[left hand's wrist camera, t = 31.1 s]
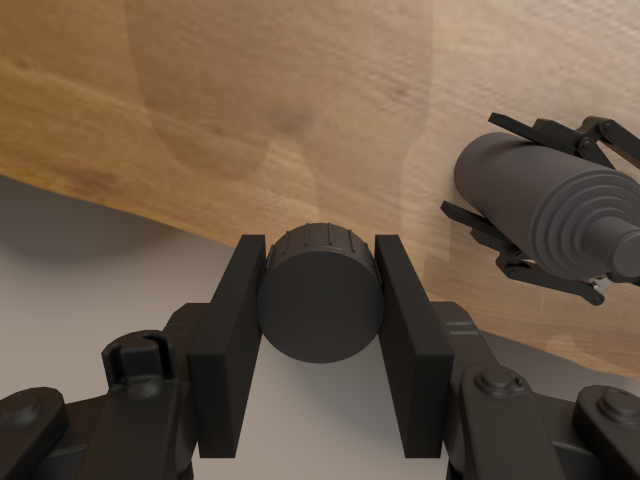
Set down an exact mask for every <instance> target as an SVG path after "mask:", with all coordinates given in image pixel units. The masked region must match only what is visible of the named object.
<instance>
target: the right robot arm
mask: <svg viewBox="0 0 640 480" xmlns="http://www.w3.org/2000/svg"><path fill="white" fill-rule="evenodd" d="M488 121H489V122H491V123H493V124H495V125H497V126H500V127H502V128H504V129H506V130H508V131H510V132H513V133H515V134H517V135H519V136H521V137H523V138H525V139H528V140H530V141H532V142H534V143H537V144H540V145H543V146H545V147H548V148H551V149H554V150H557V151H560V152H563V153H566V154H569V155H572V156H575V157H578V158H581V159H584V160H587V161H590V162H593V163H596V164H599V165H602V166H605V167H608V168H611V169H614V170H616V169H615V168H614V166H613V165H612V164H611V162H610V161H609V160H608V158H607V157H606V156H605V155H604V153H603V152H602V151H601V149H600V148H599V147H598V145H597V144H596V142H597V141H598V140H599V141H601V142H602V143H603V144H605V145H606V146H608V147H609V148H610V149H612V150H613V151H615V152H616V153H617V154H619V155H620V156H621V157H623V158H624V159H626V160H627V161H628V162H630V163H631V164H633V165H634V166H635V167H637V168H638V169H640V140H639V139H638V138H637V137H635V136H634V135H633V134H631V133H630V132H629V131H627V130H626V129H625V128H623V127H622V126H620V125H619V124H618V123H616V122H615V121H614V120H611V119H606V118H600V117H594V116H589V117H587V118H586V119H585V120H584V121H583V124H582V126H581V127H580V128H578V129H577V130H572V129H569V128H567V127H565V126H563V125H561V124H559V123H557V122H555V121H552V120H548V119H537V120H536V122H535V124H534V125H533V127H532V128H531V127H529V126H527V125H525V124H523V123H520V122H518V121H516V120H514V119H512V118H510V117H508V116H505V115H501V114H497V113H493V112H492V114H491V116H490V118H489V120H488ZM440 208H441V210H442V211H443V212H444V213H445V214H446V215H447V216H448V218H451V219H453V220H455V221H458V222H460V223H463V224H465V225H467V226H470V227H472V228H473V229H472V231H471V232H470V234H471V235H472V236H473V237H474V238H475V240H476V241H477V242H478V243H480V244H482V245H485V246H487V247H489V248H492V249H494V250H497V251H499V252H500V255H499V257H498V258H497V259H496V265H497V266H498V267H499V269H500V270H501V271H502V272H503V273H504V274H505V275H506V276H507V277H508V278H510V279H513V280H518V281H522V282H526V283H530V284H534V285H538V286H542V287H546V288H551V289H555V290H559V291H563V292H567V293H571V294H575V295H579V296H581V297H583V298H584V299H585V300H587V301H588V302H590V303H591V304H592V305H594V306H598V305H601V304H602V303H603V302H604V299H605V298H604V296H603V295H602V294H601V293H603V292H604V291H605V290H606V289H607V288H608V287H609V286H610V285H611V284H612V283H613V282H614V283H631V284H634V285H636V286H638V287H640V276H639V277H622V276H620V275H617V274H615V273H614V272H613V271H610V272H608V273H605V274H603V275H600V276H596V277H592V278H587V279H578V280H573V279H564V278H560V277H557V276H554V275H552V274H550V273H548V272H547V271H545V270H544V269H543V268H541V267H540V266H539V265H538V264H535V263H531V262H527V261H523V260H521V259H526V260H532V259H531V258H530V257H529V256H528V255H527V254H526V253H525V252H523V251H522V250H521V249H520V248H519V247H518V246H517V245H516V244H514V243H513V242H512V241H511V240H510V239H509V238H508V237H507V236H505V235H504V234H503V233H502V232H501V231H500V230H499V229H498V228H496V227H495V226H494V225H493V224H492V223H491V222H490V221H489V220H487V219H486V218H484V217H482V216H479V215H477V214H475V213H472V212H470V211H468V210H465V209H463V208H460V207H458V206H456V205H453V204H451V203H449V202H446V201H444V202H443V204H442V205H441V207H440Z"/></svg>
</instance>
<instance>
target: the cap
mask: <svg viewBox="0 0 640 480" xmlns="http://www.w3.org/2000/svg"><path fill="white" fill-rule="evenodd" d="M256 306H257V321H258V324H259V327H260V329H261V331H262V333H263V334H264V336H265V337H266V339H267V340H268V341H269V342H270V343H271V344H272V345H273V346H274V347H275V348H276V349H278V350H279V351H280V352H282V353H284V354H285V355H287V356H289V357H291V358H294V359H296V360H300V361H303V362H309V363H332V362H337V361H341V360H344V359H347V358H349V357H351V356H353V355H355V354H357V353H358V352H360V351H361V350H363V349H364V348H365V347H366V346H367V345H369V344H370V342H371V341H372V340H373V339H374V338H375V336H376V335H377V333H378V332H379V329H380V327H381V325H382V322H383V310H384V294H383V290H382V281H381V277H380V274H379V270H378V267H377V263H376V260H374V259H373V256H372V254H371V252H370V250H369V248H368V244H367V243H364V242H363V241H362V240H361V239H360V238H359V237H358V236H357V235H355V234H354V233H353V232H352V230H350V229H349V230H347V229H345V228H343V227H341V226H337V225H333V224H331V223H328V224H327V223H313V224H309V223H306V225H303V226H300V227H297V228H295V229H293V230H291V231H287V232H286V234H285V235H284V236H282V237H281V238H280V239H279V240H278V241H277V242H276V243H275V245H272V246H271V249H270V252H269V254H268V257H267V260H266V263H265V264H264V268H263V271H262V275H261V278H260V282H259V285H258V291H257V295H256Z"/></svg>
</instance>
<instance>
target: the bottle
mask: <svg viewBox="0 0 640 480" xmlns="http://www.w3.org/2000/svg"><path fill="white" fill-rule="evenodd" d="M454 178H455V184H456V187H457V190H458V191H459V193H460V195H461V196H462V197H463V198H464V199H465V200H466V201H467V202H468V203H469V204H471V205H472V206H473V207H474V208H475V209H476V210H477V211H478V212H480V213H481V214H482V215H483V216H484V217H485V218H486V219H487V220H489V221H490V222H491V223H492V224H493V225H494V226H495V227H496V228H498V229H499V230H500V231H501V232H502V233H503V234H504V235H505V236H507V237H508V238H509V239H510V240H511V241H512V242H513V243H514V244H516V245H517V246H518V247H519V248H520V249H521V250H522V251H523V252H525V253H526V254H527V255H528V256H529V257H530V258H531V259H532V260H534V261H535V262H536V263H537V264H538V265H539V266H540V267H541V268H543V269H544V270H545V271H547V272H548V273H550V274H552V275H554V276H557V277H560V278H564V279H573V280H578V279H587V278H592V277H596V276H600V275H603V274H605V273H608V272H610V271H613V272H614V273H615V274H617V275H620V276H622V277H639V276H640V185H639V184H638V182H637V181H636V180H634V179H633V178H632V177H630V176H629V175H627V174H625V173H622V172H620V171H617V170H614V169H611V168H608V167H605V166H602V165H599V164H596V163H593V162H590V161H587V160H584V159H581V158H578V157H575V156H572V155H569V154H566V153H563V152H560V151H557V150H554V149H551V148H548V147H545V146H543V145H540V144H537V143H534V142H531V141H528V140H525V139H522V138H519V137H516V136H513V135H510V134H506V133H490V134H486V135H483V136H481V137H479V138H477V139H475V140H474V141H472V142H471V143H470V144H469V145H468V146H467V147H466V148H465V149H464V150H463V151H462V153H461V155H460V156H459V158H458V160H457V163H456V166H455V173H454Z"/></svg>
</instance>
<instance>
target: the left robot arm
mask: <svg viewBox="0 0 640 480" xmlns="http://www.w3.org/2000/svg"><path fill="white" fill-rule="evenodd" d="M374 260H376V263H377V267H378V270H379V274H380V277H381V281H382V290H383V294H384V310H383V322H382V325H381V327H380V329H379V332H378V336H379V340H380V345H381V349H382V354H383V358H384V363H385V368H386V372H387V376H388V381H389V386H390V390H391V395H392V399H393V404H394V408H395V413H396V417H397V422H398V427H399V431H400V435H401V440H402V445H403V449H404V454H405V458H440V456H441V449H442V442H443V441H444V444H445V447H446V450H447V453H448V456H449V461H448V468H447V475H446V480H640V398H639V397H637V396H635V395H633V394H631V393H629V392H627V391H624V390H621V389H617V388H614V387H610V386H601V385H593V386H588V387H585V388H583V389H582V390H581V391H580V392H579V393H578V397H577V400H576V402H571V401H566V400H562V399H557V398H552V397H548V396H544V395H541V394H537V393H534V392H532V389H531V387H530V386H529V384H528V383H527V381H526V380H525V379H524V378H523V377H522V376H520V375H519V374H518V373H516V372H515V371H513V370H511V369H509V368H506V367H504V366H501V365H500V364H499V363H498V361H497V360H496V358H495V356H494V355H493V353H492V351H491V350H490V348H489V347H488V345H487V343H486V342H485V340H484V338H483V337H482V335H480V332H479V330H478V329H477V327H476V325H474V322H473V320H472V319H471V317H470V315H469V314H468V312H467V311H466V310H464V309H463V308H462V307H460V306H459V305H457V304H456V303H455V302H430V301H429V299H428V297H427V295H426V293H425V291H424V289H423V287H422V284H421V282H420V280H419V278H418V276H417V274H416V272H415V270H414V268H413V266H412V263H411V261H410V259H409V257H408V255H407V253H406V251H405V249H404V247H403V245H402V242H401V240H400V238H399V236H398V235H375V252H374ZM265 263H266V247H265V235H242V237H241V239H240V241H239V243H238V245H237V247H236V249H235V251H234V254H233V256H232V258H231V260H230V262H229V264H228V266H227V268H226V270H225V272H224V275H223V277H222V279H221V281H220V283H219V285H218V287H217V289H216V291H215V293H214V296H213V298H212V300H211V302H210V303H186V304H185V305H183V306H182V307H181V308H179V309H178V310H177V311H175V312H174V313H173V314H172V316H171V318H170V319H169V321H168V323H167V324H166V327H164V329H163V331H159V330H143V331H137V332H132V333H129V334H127V335H124V336H122V337H119V338H117V339H116V340H114V341H113V342H111V343H110V344H108V345H107V346H106V348H105V349H104V350H103V351H102V353H101V355H102V359H103V364H104V368H105V373H106V377H107V382H108V386H109V390H108V392H107V394H106V395H102V396H99V397H95V398H92V399H87V400H82V401H78V402H73V403H68V404H65V403H64V399H63V396H62V394H61V393H60V392H59V391H58V390H57V389H54V388H49V387H37V388H30V389H26V390H23V391H19V392H16V393H14V394H12V395H10V396H8V397H6V398H4V399H2V400H0V480H193V478H194V475H193V468H192V461H191V458H192V456H193V452H194V449H195V447H196V443H197V441H198V447H199V454H200V458H235V455H236V450H237V446H238V441H239V437H240V432H241V428H242V423H243V419H244V414H245V410H246V405H247V400H248V396H249V391H250V387H251V382H252V378H253V373H254V369H255V364H256V360H257V355H258V351H259V346H260V341H261V337H262V331H261V329H260V327H259V324H258V321H257V306H256V295H257V291H258V285H259V282H260V278H261V275H262V271H263V268H264V264H265Z"/></svg>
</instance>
